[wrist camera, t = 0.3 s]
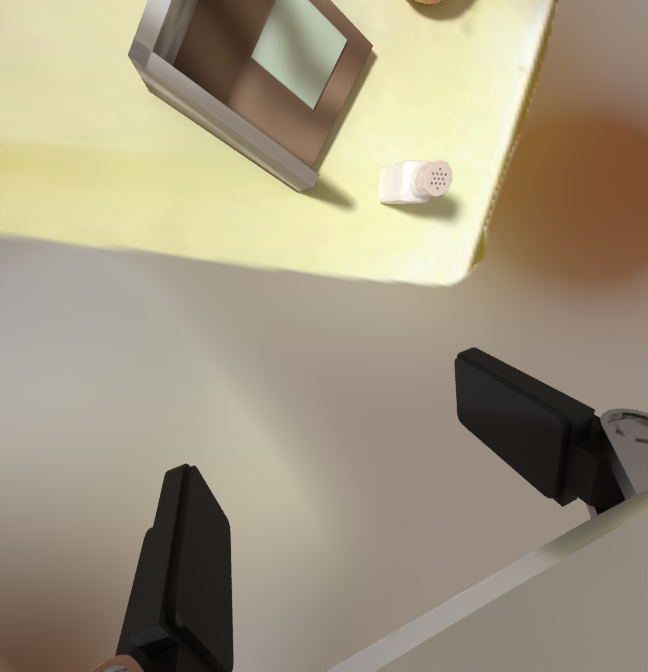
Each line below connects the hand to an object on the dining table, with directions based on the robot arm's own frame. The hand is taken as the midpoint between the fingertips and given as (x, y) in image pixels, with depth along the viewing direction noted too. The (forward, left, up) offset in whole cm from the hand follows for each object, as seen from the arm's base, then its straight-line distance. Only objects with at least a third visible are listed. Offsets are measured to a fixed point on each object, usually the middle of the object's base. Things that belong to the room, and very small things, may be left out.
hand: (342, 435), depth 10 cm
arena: (-19, -8, -30) cm, 36 cm away
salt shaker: (-18, +10, -30) cm, 37 cm away
